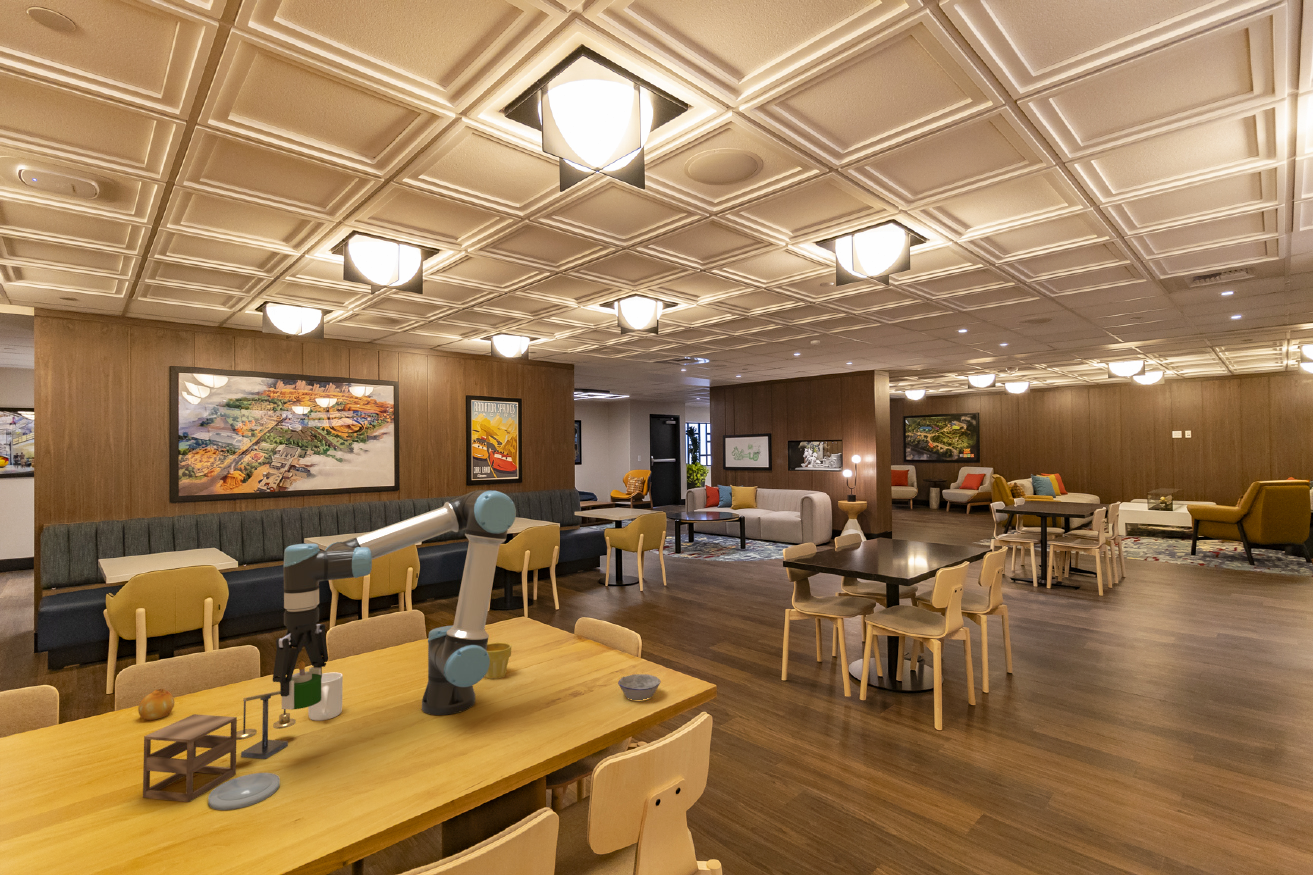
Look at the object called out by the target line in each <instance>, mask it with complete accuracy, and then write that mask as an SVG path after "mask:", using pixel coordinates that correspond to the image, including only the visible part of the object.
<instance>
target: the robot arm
mask: <svg viewBox="0 0 1313 875" xmlns="http://www.w3.org/2000/svg"><path fill="white" fill-rule="evenodd" d="M516 517H517V510H516V505H515V503H514V501H513V500H512V498H511V497H509V496H508V495H507V494H505V493H503V492H501V491H497V490H486V489H479V490H474V491H470V492H469V493H466V494H464V495H461V496H458V497H457V498H454V499H451V500H449V501H446V502H444V504H443V506H441V507H439V508H436V509H433V510H430V511H428V512H425V513H422V514H419V515H416V516H413V517H409V518H408V519H405V520H402V521H399V522H396V523H393V524H390V525H386V526H384V527H382V528H379V529H376V530H372V531H371V532H367V533H365V534H361V535H358V536H356V537H353V538H350V539H348V540H344V541H337V542H333V543H331V544H330V545H327V547H326V548H325V549H324V550H320V547H319V544H317V543H298V544H297V543H296V544H292V545H289V546H286V548H285V549H284V554H283V600H284V601H283V608H284V609H285V610H284V611H283V625H284V626H285V628H286V629H287V630H286V634H285V636H283V637H282V638H280V637H278V638H277V639H276V640H275V645H276V652H275V659H274V667H273V674H272V682H273V683H279V684H280V685H279V686H280V687H279V688H280V689H279V691H280V694H279V695H280V697H281V710H284V709H286V710H291V709H293V710H295V709H294V681H293V680H291V679H292V675H294V671H295V668H296V666H297V661H298V657H299V653H301V652H302V650H303V648H304V649H305V651H306V654H307V656H308V660H309V662H310V664H311V667H309V670H308V672H312V674H319V675H321V678H322V674H323V670H322V669H323V668H325V667H326V665H327V662H328V661H329V654H328V646H327V645H328V644H327V640H326V624H325V623H318V622H319V621H320V607H319V606H318V605H319V604H320V585H319V584H320V582H325V581H335V580H341V579H351V578H353V579H354V578H355V579H358V578H360V577H366V576H369V575H370V574H371V572H372V568H373V567H372V566H373V560H375V559H378V558H380V557H383V556H386V555H389V554H392V553H394V552H398V551H400V550H402V549H405V548H408V547H411V546H413V545H416V544H418V543H422V542H424V541H426V540H429V539H432V538H434V537H438V536H440V535H442V534H446V533H448V532H454V533H458V532H460V531H464V530H465V532H464V536H465V537H466V539H468V547H467V552H466V557H465V562H464V568H463V572H462V579H461V584H460V589H459V593H458V599H457V600H458V601H457V605H456V611H455V615H454V616H455V617H454V621H453V625H446V626H440V627H435V628H433V629H431V630H430V631H429V632H428V640H427V646H428V647H427V648H428V650H427V654H428V655H427V658H428V659H427V660H428V661H427V666H428V667H427V670H428V672H427V674H428V676H427V678H428V679H427V684H426V687H425V690H424V693H423V695H422V696H423V697H422V700H421V710H422V712H423V713H425V714H428V715H431V716H432V715H433V716H445V715H453V714H454V715H455V714H457V713H461V712H464V711H467V710H468V709H471V708H472V707H473V706H474V705H475V703H476V693H475V689H474V687H473V686H474V685H476V684H478V683H479V682H480V681H482V680H483V679H484V678H485V675H486V673H487V671H488V669H489V665H490V659H489V655H488V652H487V651H486V649H487V644H489V643H488V641H489V638H490V637H489V636H490V635H489V633H488V632H487V631H486V629H485V628H486V623H487V618H488V611H489V605H490V600H491V594H492V589H493V585H494V584H493V583H494V578H495V572H496V565H497V560H498V555H499V550H500V545H501V544H503V543H504V542H506V540H507V537H508V536H507V535H508V531H509V530H510V528H511V527H512V526H513V524H515V520H516Z"/></svg>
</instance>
